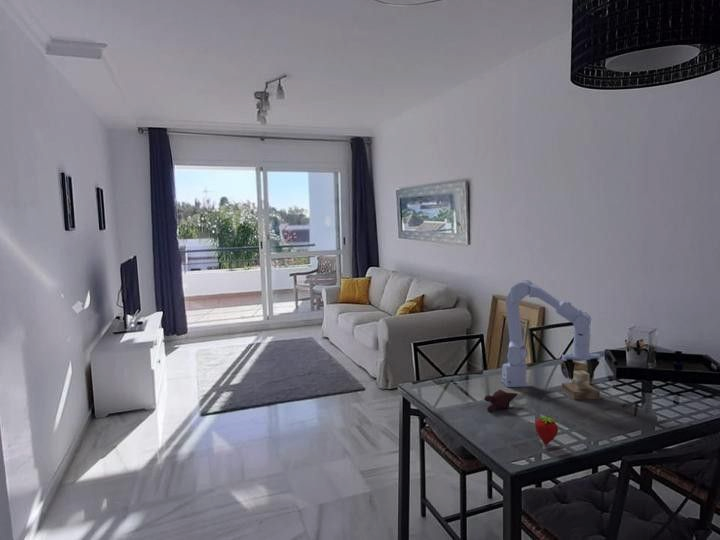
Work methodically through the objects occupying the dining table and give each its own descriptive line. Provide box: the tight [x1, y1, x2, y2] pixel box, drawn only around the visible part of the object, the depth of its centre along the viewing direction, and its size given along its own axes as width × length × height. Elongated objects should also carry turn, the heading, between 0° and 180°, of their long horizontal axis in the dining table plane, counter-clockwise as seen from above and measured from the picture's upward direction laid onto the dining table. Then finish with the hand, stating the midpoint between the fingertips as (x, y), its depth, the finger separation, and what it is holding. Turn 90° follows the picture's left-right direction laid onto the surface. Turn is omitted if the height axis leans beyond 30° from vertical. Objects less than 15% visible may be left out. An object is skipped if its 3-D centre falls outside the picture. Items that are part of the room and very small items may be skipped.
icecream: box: [484, 389, 518, 412], centre depth 172 cm, size 7×7×15 cm
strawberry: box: [534, 413, 559, 445], centre depth 144 cm, size 6×8×10 cm
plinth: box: [561, 382, 601, 400], centre depth 184 cm, size 10×10×3 cm
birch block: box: [571, 371, 590, 390], centre depth 183 cm, size 4×4×6 cm
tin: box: [560, 360, 595, 384], centre depth 200 cm, size 15×3×8 cm, turn 25°
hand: (580, 377), depth 183 cm, fingers open, 7 cm apart
